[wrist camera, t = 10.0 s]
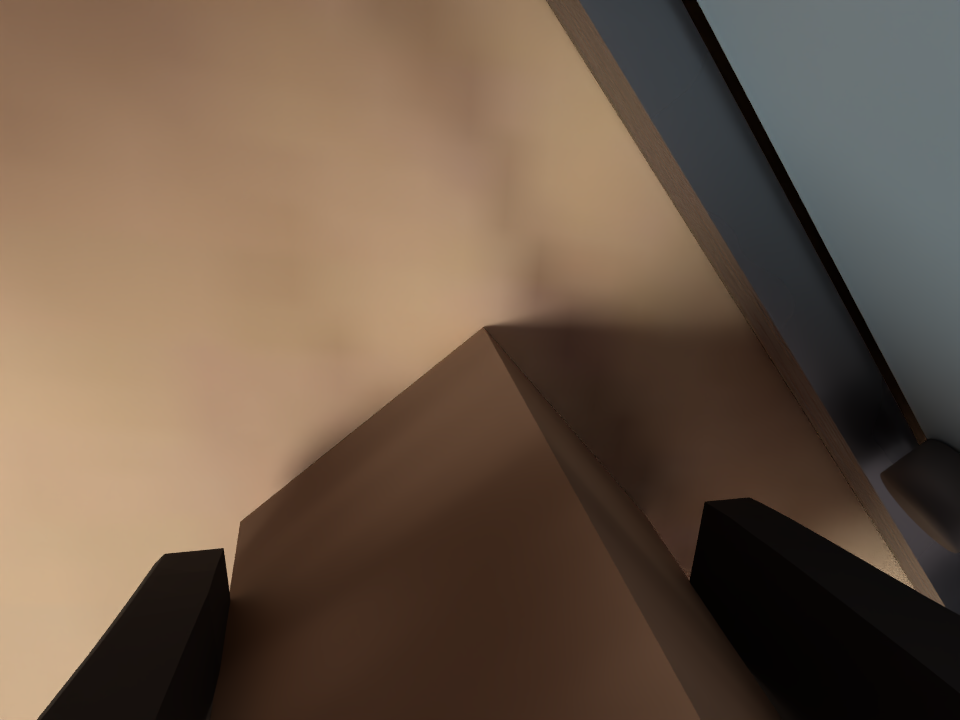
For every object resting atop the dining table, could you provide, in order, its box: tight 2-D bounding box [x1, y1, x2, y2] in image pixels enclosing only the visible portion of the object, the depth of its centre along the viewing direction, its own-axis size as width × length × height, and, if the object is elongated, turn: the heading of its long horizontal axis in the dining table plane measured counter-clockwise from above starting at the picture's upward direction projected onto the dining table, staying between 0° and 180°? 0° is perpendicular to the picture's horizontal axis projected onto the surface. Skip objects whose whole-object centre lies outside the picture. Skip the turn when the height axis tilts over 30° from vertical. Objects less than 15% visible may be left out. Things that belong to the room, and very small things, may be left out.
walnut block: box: [210, 327, 782, 720], centre depth 7 cm, size 4×4×6 cm
